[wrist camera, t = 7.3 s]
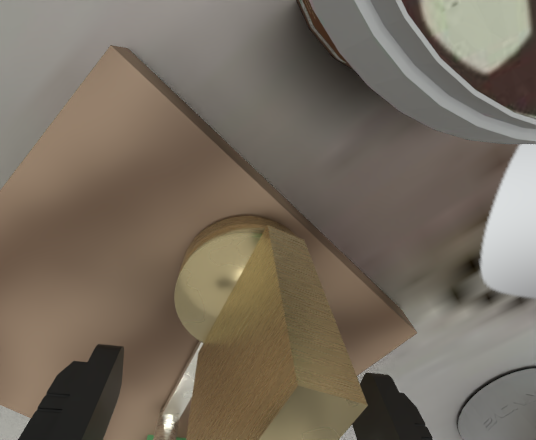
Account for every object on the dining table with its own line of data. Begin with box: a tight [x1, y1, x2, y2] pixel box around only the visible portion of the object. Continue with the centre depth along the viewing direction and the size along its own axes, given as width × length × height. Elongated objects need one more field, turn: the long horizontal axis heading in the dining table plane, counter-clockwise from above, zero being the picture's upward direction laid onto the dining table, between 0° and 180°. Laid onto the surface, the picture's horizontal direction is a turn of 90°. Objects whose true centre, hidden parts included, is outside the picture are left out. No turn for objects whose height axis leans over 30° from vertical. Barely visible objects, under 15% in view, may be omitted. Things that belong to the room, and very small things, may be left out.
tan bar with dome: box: [153, 216, 368, 440], centre depth 13 cm, size 15×6×9 cm, turn 154°
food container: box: [297, 0, 536, 144], centre depth 9 cm, size 12×6×10 cm, turn 115°
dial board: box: [0, 45, 417, 440], centre depth 18 cm, size 20×19×4 cm
